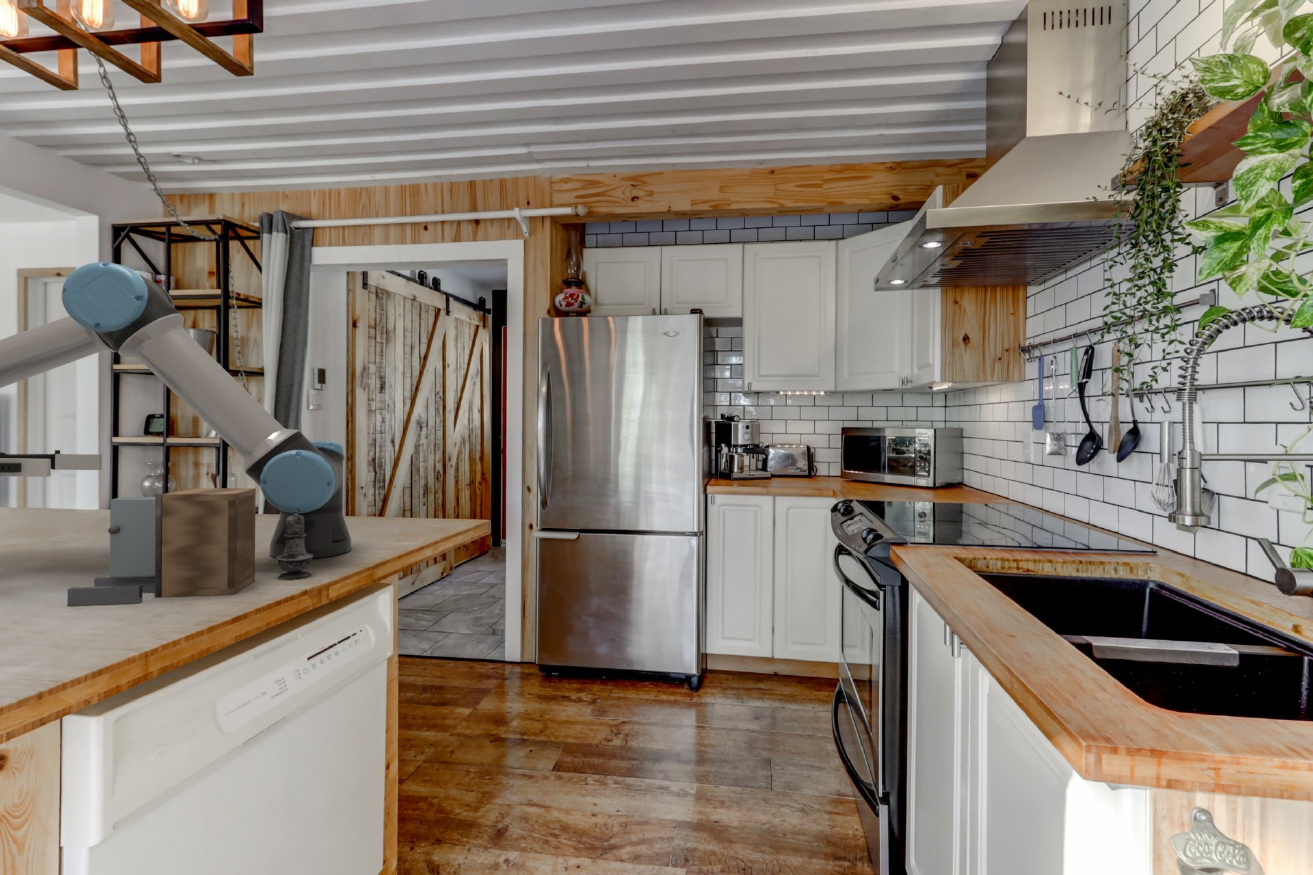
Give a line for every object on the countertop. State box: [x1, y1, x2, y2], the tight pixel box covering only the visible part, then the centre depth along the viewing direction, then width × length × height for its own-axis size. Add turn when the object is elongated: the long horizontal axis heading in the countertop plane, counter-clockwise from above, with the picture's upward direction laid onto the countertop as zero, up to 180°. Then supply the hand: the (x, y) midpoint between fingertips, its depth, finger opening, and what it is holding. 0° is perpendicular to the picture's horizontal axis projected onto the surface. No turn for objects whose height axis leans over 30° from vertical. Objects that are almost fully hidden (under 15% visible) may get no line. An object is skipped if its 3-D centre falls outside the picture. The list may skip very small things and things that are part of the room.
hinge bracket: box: [66, 575, 155, 607], centre depth 99 cm, size 9×8×2 cm
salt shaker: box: [275, 509, 314, 581], centre depth 115 cm, size 6×6×12 cm
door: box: [107, 496, 155, 577], centre depth 110 cm, size 8×5×14 cm, turn 104°
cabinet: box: [154, 487, 257, 598], centre depth 106 cm, size 11×9×16 cm
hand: (76, 464), depth 108 cm, fingers open, 13 cm apart
